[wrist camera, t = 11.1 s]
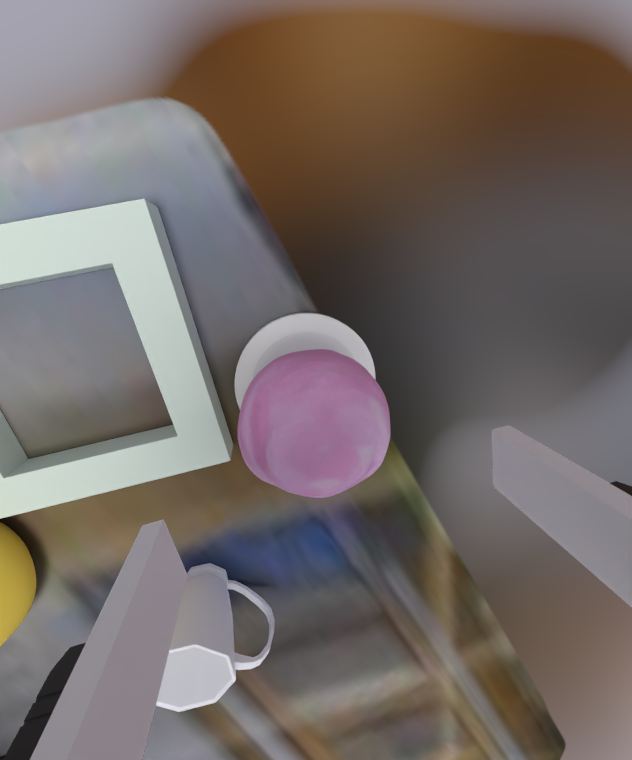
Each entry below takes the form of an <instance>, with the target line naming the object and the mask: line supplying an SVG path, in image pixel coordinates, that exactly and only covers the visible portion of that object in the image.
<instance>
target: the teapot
mask: <svg viewBox="0 0 632 760" xmlns="http://www.w3.org/2000/svg"><path fill="white" fill-rule="evenodd" d="M35 592H36V573H35V568H34V564H33V560H32V558H31V555H30V553H29V550H28V548H27V547H26V545H25V543H24V542H23V541H22V539H21V538H20V537H19V536H18V535H17V534H16V533H15V532H14V531H13V530H12V529H10V528H9V527H8V526H6V525H5V524H3V523H2V522H0V646H1V645H2V644H3V643H4V642H5V641H6V640H7V639H8V638H9V637H10V636H11V634H12V633H13V632H14V631H15V630H16V629H17V628H18V626H19V625H20V624H21V622H22V621H23V620H24V618H25V617H26V615H27V614H28V612H29V610H30V608H31V606H32V603H33V600H34V597H35Z"/></svg>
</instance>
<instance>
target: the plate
mask: <svg viewBox="0 0 632 760" xmlns="http://www.w3.org/2000/svg"><path fill="white" fill-rule="evenodd" d="M314 349H326V350H333V351H335V352H338V353H340V354H342V355H345V356H347V357H350V358H352V359H354V360H355V361H357V362H358V363H360V364H361V365H362V366H363V367H364V368H366V369H367V371H368V372H369V373H370V374H371V375H372V376H373V378H374V379H376V378H375V368H374V363H373V360H372V357H371V354H370V352H369V350H368V348H367V346H366V345H365V343H364V342H363V340H362V339H361V338H360V337H359V336H358V335H357V334H356V333H355V332H354V331H353V330H352V329H351V328H349V327H348V326H347V325H345V324H343V323H341V322H339V321H338V320H336V319H334V318H332V317H329V316H326V315H323V314H319V313H310V312H301V313H293V314H289V315H285V316H282V317H279V318H277V319H275V320H273V321H271V322H269V323H268V324H266V325H264V326H263V327H262V328H261V329H260V330H258V331H257V332H256V333H255V334H254V335H253V336H252V337H251V339H250V340H249V341H248V343H247V344H246V346H245V348H244V349H243V351H242V353H241V356H240V359H239V361H238V364H237V368H236V373H235V383H234V386H235V395H236V400H237V404H238V406H239V409H241V405H242V401H243V398H244V395H245V392H246V390H247V388H248V386H249V384H250V382H251V381H252V380H253V379H254V377H255V376H256V375H257V373H258V372H260V371H261V370H262V369H263V368H264V367H265V366H266V365H268V364H269V363H270V362H272V361H273V360H275V359H276V358H278V357H280V356H283V355H285V354H288V353H292V352H297V351H304V350H314Z"/></svg>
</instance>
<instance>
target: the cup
mask: <svg viewBox="0 0 632 760" xmlns="http://www.w3.org/2000/svg"><path fill="white" fill-rule="evenodd" d="M187 575H188V576H187V580H186V584H185V588H184V592H183V596H182V600H181V604H180V608H179V613H178V617H177V621H176V625H175V629H174V633H173V637H172V641H171V645H170V649H169V654H168V658H167V662H166V666H165V670H164V674H163V678H162V682H161V686H160V690H159V695H158V699H157V703H156V706H159V707H163V708H166V709H170V710H174V711H177V712H181V711H185V710H189V709H193V708H196V707H200V706H204V705H208V704H212V703H216V702H217V700H218V699H219V698H220V697H221V696H222V695H223V694H224V693H225V692H226V690H227V689H228V688H229V687H230V686H231V685H232V684H233V683H234V682H235V681H236V669H238V670H245V669H252V668H254V667H257V666H259V665H260V664H261V662H262V661H263V660H264V659H265V657H266V656H267V655H268V653H269V650H270V646H271V642H272V638H273V634H274V622H275V620H274V616H273V613H272V610H271V608H270V607H269V605H268V604H267V603H266V602H265V600H264V599H263V598H261V597H260V596H259V595H258V594H256V593H255V592H254V591H252V590H251V589H250V588H248V587H247V586H245V585H243V584H241V583H239V582H237V581H233V580H228V577H227V573H226V570H225V569H223V568H220V567H218V566H216V565H214V564H211V563H208V564H203V565H199V566H194V567H191V569H190V570H189V571H188V572H187ZM228 589H233V590H235V591H237V592H239V593H241V594H243V595H244V596H246V597H247V598H248V599H250V600H251V601H252V602H253V603H255V604H256V605H257V606H258V607H259V608H260V609H261V610H262V611H263V612H264V613H265V615H266V616H267V619H268V623H269V626H270V628H269V638H268V642H267V645H266V647H265V648H264V649H263V650H262V652H261V653H260V654H259V655H257V656H255V657H249V656H244V655H240V654H238V653H235V652H234V636H233V616H232V610H231V604H230V598H229V593H228Z"/></svg>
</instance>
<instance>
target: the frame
mask: <svg viewBox="0 0 632 760" xmlns="http://www.w3.org/2000/svg"><path fill="white" fill-rule="evenodd" d="M112 267H114V270H115V272H116V275H117V277H118V280H119V283H120V285H121V288H122V291H123V293H124V296H125V299H126V301H127V304H128V306H129V309H130V312H131V314H132V317H133V320H134V322H135V325H136V328H137V330H138V333H139V335H140V338H141V341H142V343H143V346H144V349H145V351H146V354H147V356H148V359H149V362H150V364H151V367H152V370H153V372H154V375H155V378H156V380H157V383H158V385H159V388H160V391H161V393H162V396H163V399H164V401H165V404H166V407H167V409H168V412H169V414H170V417H171V420H172V422H173V425H169V426H165V427H161V428H157V429H152V430H148V431H144V432H140V433H136V434H131V435H127V436H123V437H119V438H115V439H110V440H106V441H102V442H98V443H94V444H90V445H85V446H81V447H77V448H73V449H69V450H64V451H60V452H56V453H52V454H48V455H43V456H39V457H35V458H31V459H28V458H27V456H26V454H25V452H24V450H23V449H22V447H21V445H20V443H19V442H18V440H17V438H16V436H15V435H14V433H13V431H12V429H11V428H10V426H9V424H8V422H7V421H6V419H5V417H4V415H3V414H2V412H1V410H0V519H1V518H5V517H9V516H13V515H17V514H21V513H25V512H29V511H33V510H37V509H41V508H45V507H49V506H53V505H57V504H61V503H65V502H69V501H73V500H77V499H81V498H85V497H89V496H92V495H96V494H100V493H104V492H108V491H112V490H116V489H120V488H124V487H128V486H132V485H136V484H140V483H144V482H148V481H152V480H156V479H160V478H164V477H168V476H172V475H176V474H180V473H184V472H188V471H192V470H196V469H200V468H204V467H208V466H212V465H216V464H220V463H224V462H228V461H230V460H231V455H232V449H233V442H232V439H231V436H230V433H229V430H228V426H227V423H226V420H225V417H224V414H223V411H222V408H221V404H220V401H219V398H218V395H217V392H216V389H215V386H214V382H213V379H212V376H211V373H210V370H209V367H208V364H207V360H206V357H205V354H204V351H203V348H202V345H201V342H200V338H199V335H198V332H197V329H196V326H195V323H194V320H193V316H192V313H191V310H190V307H189V304H188V301H187V298H186V294H185V291H184V288H183V285H182V282H181V279H180V276H179V272H178V269H177V266H176V263H175V260H174V257H173V254H172V250H171V247H170V244H169V241H168V238H167V235H166V232H165V229H164V225H163V222H162V219H161V216H160V213H159V210H158V207H157V206H155V205H154V204H152V203H150V202H149V201H147V200H146V199H139V200H133V201H128V202H122V203H117V204H111V205H106V206H100V207H95V208H89V209H84V210H78V211H72V212H67V213H61V214H56V215H50V216H45V217H39V218H34V219H28V220H22V221H17V222H11V223H6V224H0V289H5V288H10V287H15V286H21V285H26V284H31V283H36V282H41V281H46V280H51V279H56V278H61V277H66V276H72V275H77V274H82V273H87V272H92V271H97V270H102V269H107V268H112Z"/></svg>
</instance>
